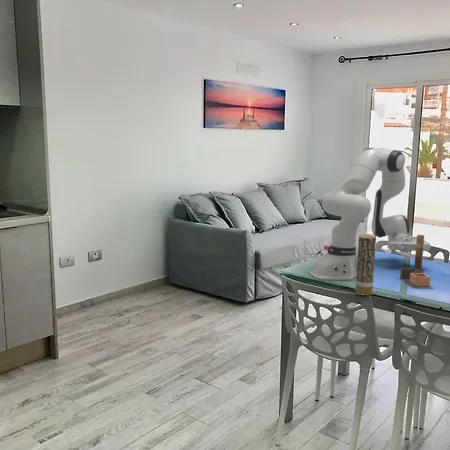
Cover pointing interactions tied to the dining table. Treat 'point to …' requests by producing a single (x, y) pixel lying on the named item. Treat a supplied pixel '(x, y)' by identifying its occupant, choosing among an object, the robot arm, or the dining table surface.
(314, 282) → the dining table surface
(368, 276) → the bark textured cylinder
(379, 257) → the dining table surface
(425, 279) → the collar
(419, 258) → the dowel
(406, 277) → the rail
